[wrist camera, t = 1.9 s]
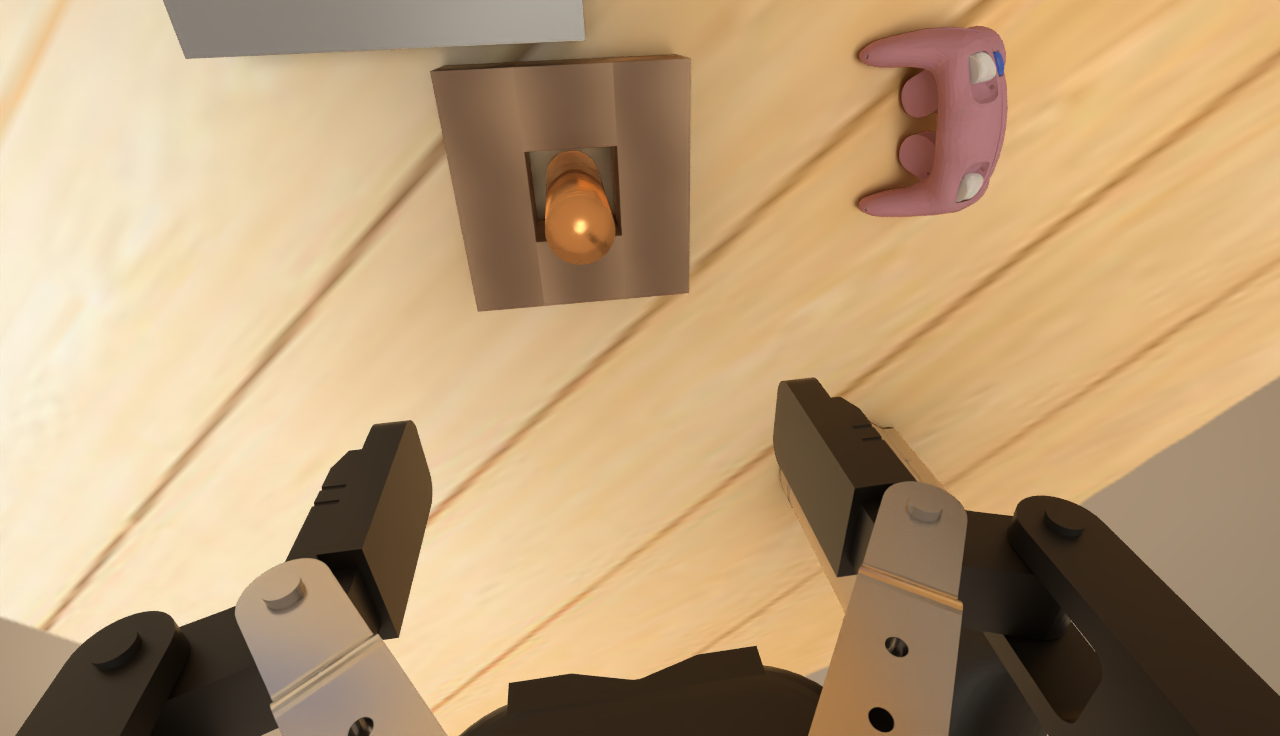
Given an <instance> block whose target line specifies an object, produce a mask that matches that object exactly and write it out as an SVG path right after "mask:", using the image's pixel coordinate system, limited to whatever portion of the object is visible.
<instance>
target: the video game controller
mask: <svg viewBox="0 0 1280 736" xmlns="http://www.w3.org/2000/svg"><path fill="white" fill-rule="evenodd" d="M859 60H860V61H861V62H863V63H864V64H867V65H870V66H875V67H881V68H882V67H916V68H922V69H924V70H923V71H922V72H920V73H919V74H917V75H916V76H914V77H912V78H911V79H909V80H908V81H907V82H906V84H905V85H904V87H903V90H902V96H901V98H902V104H903V107H904V109H905V111H906V112H907V113H908V114H909V115H910V116H912V117H916V118H921V117H925V116H927V115H930V114H932V113H934V112H937V111H938V116H937V128H936V133H935V132H932V131H922V132H920V133H916V134H913V135H911V136H909V137H907V138H906V139H905V140H904V141H903V143H902V145H901V147H900V152H899V158H900V162H901V164H902V166H903V167H904V168H905V169H906V170H907V171H909V172H910V173H912V174H913V175H915V176H916V177H917V178H918V179H919V181H918V182H917V183H915V184H913V185H910V186H908V187H904V188H898V189H893V190H887V191H882V192H879V193H875V194H871V195H869V196H867V197H864V198H862V199H861V200H860V202H859V204H858V207H859V209H860V210H861V211H862V212H864V213H866V214H869V215H872V216H879V217H909V216H927V215H939V214H945V213H953V212H957V211H960V210H962V209H964V208H966V207H968V206H970V205H972V204H974V203H975V202H976V201H978V200H979V199H980V198H981V197H982V196H983V195H984V193H985V191H986V190H987V188H988V185H989V179H990V177H991V175H992V173H993V171H994V169H995V166H996V164H997V161H998V159H999V156H1000V152H1001V148H1002V145H1003V141H1004V135H1005V129H1006V119H1007V86H1006V80H1005V74H1004V65H1005V62H1006V52H1005V48H1004V44H1003V41H1002V40H1001V38H1000V36H999V35H998V34H997V33H996V32H995V31H994V30H992V29H990V28H987V27H983V26H974V27H969V28H955V27H940V28H929V29H922V30H917V31H913V32H908V33H904V34H900V35H895V36H891V37H887V38H883V39H880V40H877V41H874V42H872V43H870V44H868V45H867V46H866V47H865V48H864V49H863V50H862V51H861V52H860V53H859Z"/></svg>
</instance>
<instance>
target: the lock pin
mask: <svg viewBox="0 0 1280 736" xmlns="http://www.w3.org/2000/svg"><path fill="white" fill-rule="evenodd" d="M545 235H546V240H547V243H548V245H549V247H550V248H551V250H552V251H553V252H554V253H555V255H557V256H558V257H559V258H560V259H562V260H564V261H566V262H568V263H572V264H577V265H584V264H590V263H593V262H595V261H597V260H599V259H601V258H602V257H603V256H604V255H605V254H606V253H607V252H608V251H609V250H610V248H611V246H612V244H613V242H614V238H615V223H614V219H613V216H612V213H611V210H610V207H609V204H608V201H607V197H606V194H605V191H604V188H603V185H602V182H601V179H600V176H599V172H598V169H597V167H596V165H595V163H594V162H593V160H592V159H591V158H590V157H589V156H587V155H586V154H584V153H582V152H579V151H574V150H570V151H565V152H562V153H560V154H558V155H557V156H555V157H554V158H553V159H552V161H551V162H550V164H549V166H548V169H547V174H546V210H545Z"/></svg>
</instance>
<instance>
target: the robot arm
mask: <svg viewBox="0 0 1280 736" xmlns="http://www.w3.org/2000/svg"><path fill="white" fill-rule="evenodd" d="M773 443H774V451H775V455H776V459H777V462H778V464H779V466H780V468H781V470H780V480H781V483H782V487H783V489H784V491H785V493H786V495H787V497H788V500H789V502H790V504H791V507H792V508H793V509H794V511H795V513H796V515H797V517H798V519H799V521H800V524H801V526H802V528H803V530H804V532H805V534H806V536H807V538H808V540H809V542H810V544H811V546H812V548H813V550H814V552H815V554H816V556H817V558H818V560H819V562H820V564H821V566H822V568H823V570H824V572H825V574H826V576H827V578H828V580H829V582H830V584H831V586H832V588H833V590H834V592H835V594H836V596H837V598H838V600H839V602H840V604H841V606H842V608H843V610H844V612H845V617H844V620H843V623H842V627H841V630H840V633H839V636H838V640H837V643H836V646H835V649H834V653H833V656H832V659H831V663H830V666H829V669H828V673H827V676H826V679H825V682H824V686H823V687H822V686H821V685H819V684H818V683H816V682H814V681H812V680H810V679H808V678H806V677H804V676H802V675H799V674H796V673H793V672H790V671H788V670H784V669H780V668H775V667H771V666H763V665H762V662H761V659H760V656H759V653H758V649H757V646H752V647H746V648H739V649H732V650H726V651H719V652H712V653H706V654H699V655H696V656H693V657H691V658H689V659H686V660H684V661H682V662H679V663H677V664H675V665H672V666H670V667H668V668H665V669H663V670H661V671H658V672H656V673H654V674H651V675H649V676H647V677H644V678H641V679H637V680H627V679H618V678H608V677H599V676H589V675H579V674H566V675H559V676H553V677H546V678H540V679H533V680H526V681H520V682H513V683H509V691H508V705H505V706H503V707H501V708H499V709H497V710H495V711H493V712H491V713H489V714H488V715H486V716H484V717H483V718H481V719H480V720H478V721H477V722H476V723H474V724H473V725H471V726H470V727H469V728H467V729H466V730H465V731H464V732H463V733H462V734H461V735H459V736H1047V734H1048V735H1049V736H1280V696H1279V695H1278V694H1277V693H1276V692H1275V691H1274V690H1273V689H1272V688H1271V687H1270V686H1269V685H1268V684H1267V683H1266V682H1265V681H1264V680H1263V679H1262V678H1261V677H1260V676H1259V675H1258V674H1257V673H1256V672H1255V671H1253V669H1252V668H1250V666H1249V665H1247V664H1246V663H1245V662H1244V661H1243V660H1242V659H1241V658H1240V657H1239V656H1238V655H1237V654H1236V653H1235V652H1234V651H1233V650H1232V649H1231V648H1230V647H1229V646H1228V645H1227V644H1226V643H1225V642H1224V641H1223V640H1222V639H1221V638H1220V637H1219V636H1218V635H1217V634H1216V633H1215V632H1214V631H1213V630H1212V629H1211V628H1210V627H1209V626H1208V625H1207V624H1206V623H1205V622H1204V621H1203V620H1202V619H1201V618H1200V617H1199V616H1198V615H1197V614H1196V613H1195V612H1194V611H1193V610H1191V608H1190V607H1189V606H1188V605H1187V604H1186V603H1185V602H1184V601H1183V600H1182V599H1181V598H1179V597H1178V595H1176V594H1175V593H1174V592H1173V591H1172V590H1171V589H1170V588H1169V587H1168V586H1167V585H1166V584H1165V583H1164V582H1163V581H1162V580H1161V579H1160V578H1159V577H1158V576H1157V575H1156V574H1155V573H1154V572H1153V571H1152V570H1151V569H1150V568H1149V567H1148V566H1147V565H1146V564H1145V563H1144V562H1143V561H1142V560H1141V559H1140V558H1139V557H1138V556H1137V555H1136V554H1135V553H1134V552H1133V551H1132V550H1131V549H1130V548H1129V547H1128V546H1127V545H1126V544H1125V543H1124V542H1123V541H1122V540H1121V539H1120V538H1119V537H1118V536H1117V535H1115V533H1114V532H1113V531H1111V529H1109V527H1108V526H1107V525H1106V524H1105V523H1104V522H1102V521H1101V520H1100V519H1099V518H1098V517H1097V516H1096V515H1094V514H1093V513H1091V512H1090V511H1088V510H1087V509H1085V508H1083V507H1081V506H1079V505H1077V504H1075V503H1073V502H1070V501H1067V500H1064V499H1061V498H1056V497H1051V496H1032V497H1028V498H1025V499H1023V500H1022V501H1020V502H1019V504H1018V505H1017V507H1016V510H1015V512H1014V515H1013V516H1007V515H999V514H990V513H982V512H974V511H967V510H965V509H964V507H963V506H962V504H961V503H960V502H959V501H958V500H957V499H956V498H955V497H954V496H952V495H951V494H950V493H948V492H947V491H946V489H945V488H944V487H943V486H942V485H941V483H940V482H939V481H938V480H937V479H936V478H935V476H934V475H933V474H932V473H931V472H930V470H929V469H928V468H927V467H926V466H925V464H924V463H923V462H922V461H921V460H920V459H919V457H918V456H917V455H916V454H915V453H914V451H913V450H912V449H911V448H910V447H909V446H908V444H907V443H906V442H905V441H904V440H903V438H902V437H901V436H900V435H899V434H898V432H897V431H896V430H895V429H893V428H891V429H881V428H879V427H878V426H876V425H874V424H873V423H871V422H870V421H869V420H868V419H867V417H866V416H865V415H864V414H863V412H862V411H861V410H860V409H859V408H857V407H856V406H854V405H853V404H851V403H849V402H848V401H846V400H845V399H843V398H842V397H834V398H831V397H830V396H829V395H828V393H827V392H826V391H825V389H824V388H823V387H822V385H821V384H820V383H819V381H818V380H817V379H816V378H805V379H796V380H787V381H781V382H780V384H779V386H778V393H777V403H776V413H775V424H774V434H773ZM431 504H432V481H431V476H430V472H429V469H428V465H427V462H426V459H425V455H424V452H423V449H422V445H421V442H420V439H419V435H418V432H417V429H416V426H415V424H414V423H413V421H411V420H409V421H399V422H390V423H381V424H374V425H373V426H372V428H371V430H370V432H369V434H368V437H367V439H366V441H365V443H364V446H363V448H362V449H360V450H351V451H348V452H347V453H346V454H345V455H344V456H343V457H342V458H341V459H340V460H339V461H338V462H337V463H336V464H335V465H334V466H333V467H332V468H331V469H330V471H329V473H328V475H327V477H326V479H325V481H324V483H323V485H322V491H320V492H319V494H318V496H317V498H316V500H315V502H314V507H312V508H311V510H310V512H309V514H308V516H307V518H306V520H305V522H304V524H303V526H302V528H301V530H300V532H299V534H298V536H297V539H296V541H295V543H294V545H293V547H292V549H291V551H290V553H289V555H288V557H287V559H286V561H285V562H284V563H282V564H279V565H277V566H275V567H273V568H271V569H269V570H268V571H266V572H264V573H263V574H261V575H260V576H259V577H257V578H256V579H255V580H254V581H253V582H252V583H251V584H249V586H248V587H247V588H246V589H245V590H244V591H243V593H242V594H241V596H240V598H239V600H238V602H237V604H236V606H234V607H232V608H229V609H227V610H224V611H222V612H219V613H216V614H214V615H211V616H208V617H206V618H203V619H200V620H197V621H195V622H192V623H189V624H187V625H184V626H181V627H178V625H177V624H176V623H175V621H174V620H173V618H172V617H171V616H170V615H168V614H166V613H164V612H160V611H148V612H141V613H137V614H133V615H131V616H128V617H125V618H123V619H120V620H118V621H116V622H114V623H112V624H110V625H108V626H106V627H105V628H103V629H102V630H100V631H99V632H97V633H96V634H94V635H93V636H92V637H90V638H89V639H88V640H86V641H85V642H84V643H83V644H82V645H81V646H80V647H79V648H78V649H77V650H76V651H75V652H74V653H73V654H72V655H71V657H70V658H69V659H68V660H67V662H66V663H65V664H64V666H63V667H62V669H61V670H60V672H59V673H58V675H57V676H56V678H55V679H54V681H53V682H52V683H51V685H50V686H49V688H48V689H47V691H46V692H45V693H44V695H43V697H42V698H41V699H40V701H39V702H38V704H37V705H36V706H35V708H34V709H33V711H32V712H31V714H30V715H29V717H28V718H27V720H26V721H25V723H24V724H23V726H22V727H21V728H20V730H19V731H18V733H17V734H16V736H261V735H263V734H265V733H268V732H270V731H272V730H274V729H277V728H279V729H280V732H281V734H282V736H447V734H446V733H445V731H444V730H443V728H442V727H441V725H440V724H439V722H438V721H437V719H436V718H435V716H434V715H433V713H432V712H431V711H430V709H429V708H428V706H427V705H426V703H425V702H424V700H423V699H422V697H421V696H420V694H419V693H418V691H417V690H416V688H415V687H414V685H413V684H412V683H411V681H410V680H409V678H408V677H407V675H406V674H405V672H404V671H403V669H402V668H401V666H400V665H399V663H398V662H397V660H396V659H395V657H394V656H393V655H392V653H391V652H390V650H389V649H388V647H387V646H386V644H385V643H384V641H383V640H386V639H393V638H399V634H400V630H401V626H402V622H403V618H404V614H405V610H406V606H407V602H408V598H409V594H410V590H411V585H412V581H413V577H414V573H415V569H416V565H417V561H418V557H419V553H420V549H421V545H422V541H423V537H424V533H425V528H426V524H427V520H428V516H429V512H430V508H431ZM1071 620H1072V622H1073V623H1074V624H1075V625H1076V627H1077V628H1078V629H1079V631H1080V632H1081V633H1082V634H1083V636H1084V637H1085V638H1086V639H1087V641H1088V642H1089V643H1090V644H1091V646H1092V647H1093V648H1094V650H1095V651H1094V650H1093V648H1092V647H1091V646H1090V645H1089V643H1088V642H1087V641H1086V640H1085V638H1084V637H1083V636H1082V635H1081V633H1080V632H1079V631H1078V630H1077V628H1076V627H1075V626H1074V624H1073V623H1072V622H1071Z"/></svg>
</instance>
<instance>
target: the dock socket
mask: <svg viewBox="0 0 1280 736" xmlns="http://www.w3.org/2000/svg"><path fill="white" fill-rule="evenodd" d="M163 2H164V4H165V7H166V9H167V12H168V14H169V17H170V20H171V22H172V25H173V27H174V30H175V32H176V35H177V38H178V40H179V43H180V45H181V48H182V51H183V53H184V56H185V58H186V59H191V58H213V57H235V56H257V55H279V54H300V53H322V52H344V51H366V50H388V49H409V48H431V47H453V46H475V45H497V44H518V43H540V42H562V41H584V40H585V31H584V17H583V4H582V0H163Z"/></svg>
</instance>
